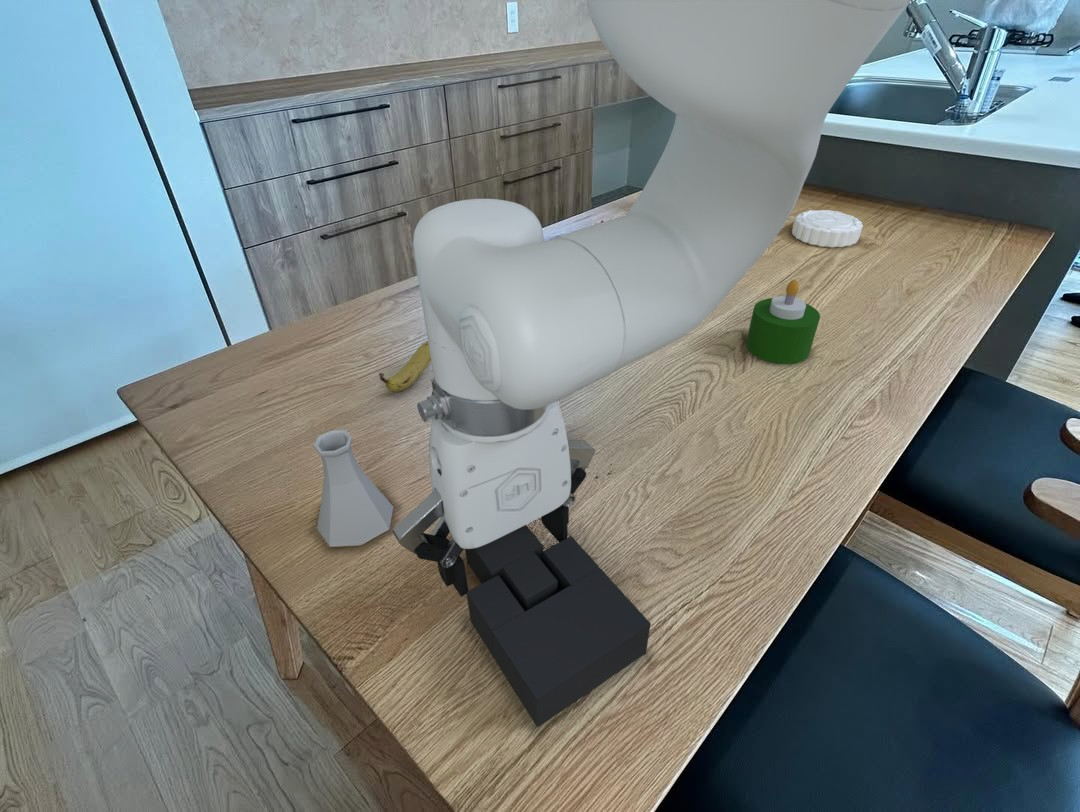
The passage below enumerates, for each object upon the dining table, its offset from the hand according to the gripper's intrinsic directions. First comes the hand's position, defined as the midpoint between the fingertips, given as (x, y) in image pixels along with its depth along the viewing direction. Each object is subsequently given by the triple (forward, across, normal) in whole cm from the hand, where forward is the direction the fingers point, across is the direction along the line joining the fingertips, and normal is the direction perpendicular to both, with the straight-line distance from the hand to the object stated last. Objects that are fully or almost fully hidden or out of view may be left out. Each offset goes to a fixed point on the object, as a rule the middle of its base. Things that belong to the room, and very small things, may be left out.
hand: (507, 556), depth 50 cm
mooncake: (+2, +91, +34) cm, 97 cm away
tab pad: (+2, 0, -1) cm, 3 cm away
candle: (+2, +50, +12) cm, 51 cm away
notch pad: (+2, 0, -7) cm, 8 cm away
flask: (+2, -9, +14) cm, 16 cm away
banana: (+2, +5, +33) cm, 33 cm away
